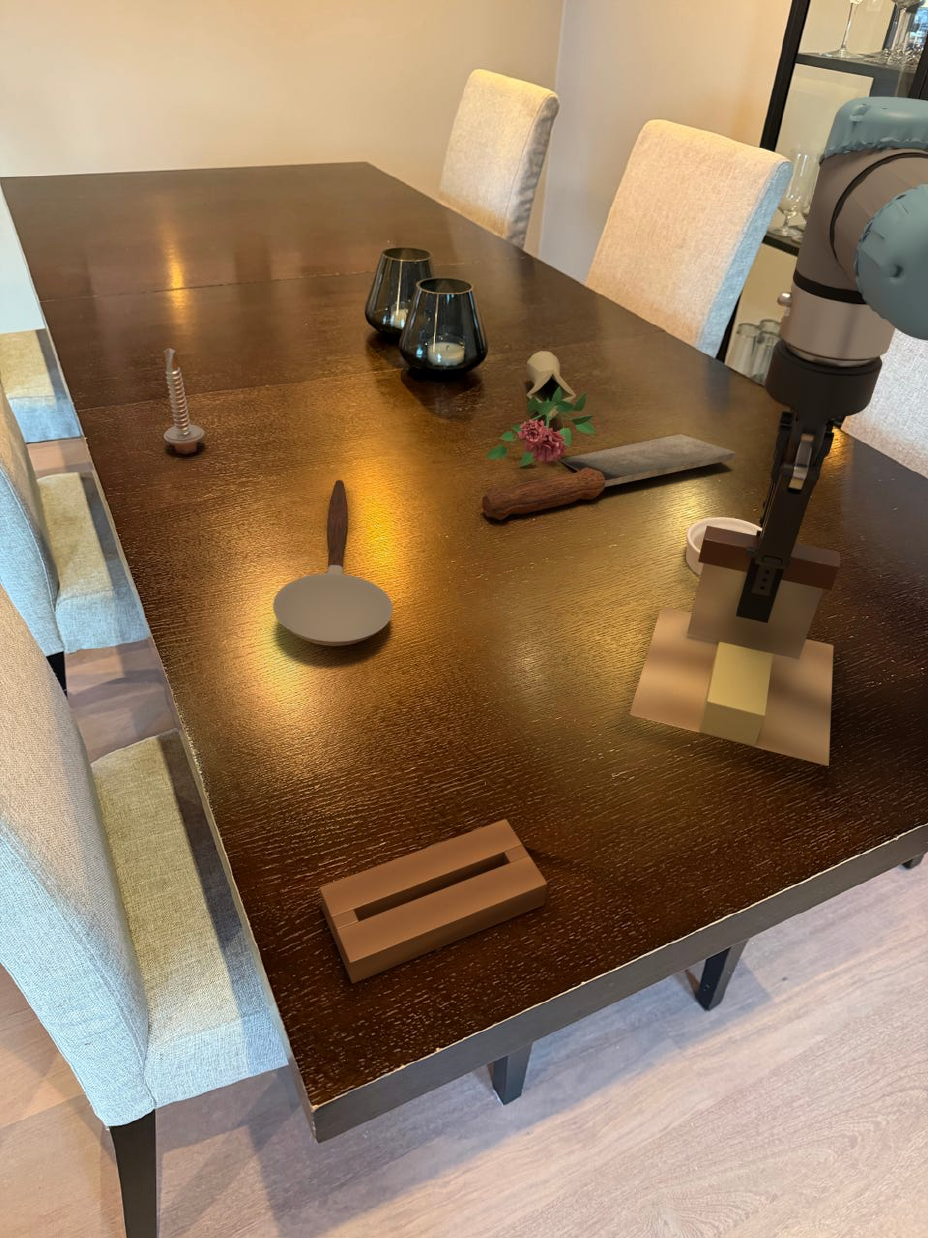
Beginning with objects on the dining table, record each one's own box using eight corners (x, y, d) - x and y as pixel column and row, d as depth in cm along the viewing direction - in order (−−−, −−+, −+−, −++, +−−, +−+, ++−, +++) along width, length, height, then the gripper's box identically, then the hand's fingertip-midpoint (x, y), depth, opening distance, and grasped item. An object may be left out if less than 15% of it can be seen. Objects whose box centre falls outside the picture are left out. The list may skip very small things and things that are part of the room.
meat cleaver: (679, 433, 119) (685, 405, 116) (734, 472, 111) (741, 442, 109) (450, 484, 107) (451, 454, 105) (494, 531, 99) (495, 500, 97)
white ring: (697, 602, 90) (706, 567, 87) (667, 553, 96) (674, 518, 94) (780, 595, 91) (791, 560, 88) (744, 547, 98) (754, 513, 95)
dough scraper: (804, 667, 79) (839, 566, 72) (679, 638, 82) (703, 538, 75) (805, 651, 81) (840, 551, 74) (683, 623, 83) (706, 524, 77)
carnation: (559, 438, 133) (581, 514, 101) (482, 409, 131) (480, 478, 99) (591, 361, 128) (625, 416, 96) (511, 331, 126) (519, 376, 95)
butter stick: (754, 746, 72) (765, 715, 70) (698, 732, 73) (707, 701, 71) (762, 684, 78) (772, 653, 76) (710, 671, 79) (719, 641, 77)
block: (544, 905, 62) (547, 883, 60) (352, 984, 57) (350, 963, 55) (503, 840, 66) (506, 818, 64) (321, 909, 61) (319, 887, 59)
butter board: (823, 778, 72) (829, 766, 71) (626, 726, 75) (629, 714, 74) (829, 657, 84) (833, 644, 83) (658, 617, 87) (661, 605, 86)
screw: (213, 451, 111) (176, 462, 108) (196, 437, 114) (160, 447, 111) (197, 350, 103) (157, 359, 100) (179, 336, 106) (140, 345, 103)
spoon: (268, 666, 79) (268, 638, 77) (292, 490, 105) (292, 467, 104) (391, 670, 80) (394, 643, 79) (384, 496, 107) (386, 473, 105)
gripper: (783, 305, 71) (720, 552, 85) (768, 378, 59) (698, 649, 74) (883, 319, 69) (801, 569, 84) (887, 398, 57) (792, 671, 72)
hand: (753, 606), depth 79 cm, fingers closed on dough scraper, 2 cm apart
